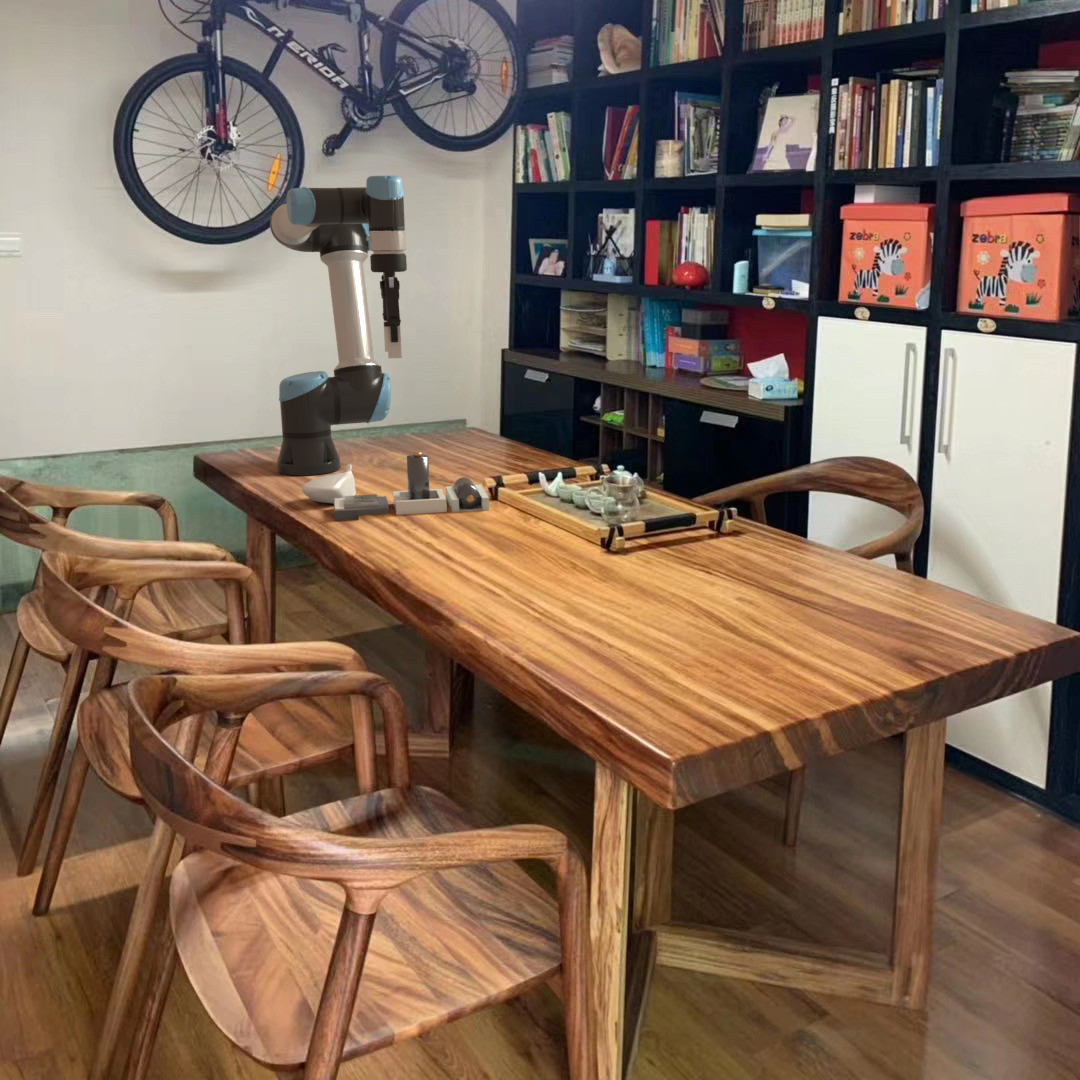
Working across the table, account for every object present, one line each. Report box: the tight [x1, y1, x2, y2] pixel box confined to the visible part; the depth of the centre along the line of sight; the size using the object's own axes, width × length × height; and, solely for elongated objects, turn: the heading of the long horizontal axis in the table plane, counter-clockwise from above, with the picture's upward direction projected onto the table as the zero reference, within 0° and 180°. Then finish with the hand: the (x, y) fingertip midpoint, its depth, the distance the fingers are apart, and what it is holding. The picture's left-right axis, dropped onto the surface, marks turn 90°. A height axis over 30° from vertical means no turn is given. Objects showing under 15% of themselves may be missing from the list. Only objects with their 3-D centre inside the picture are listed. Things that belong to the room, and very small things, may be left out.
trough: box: [445, 484, 490, 513], centre depth 251 cm, size 13×8×3 cm, turn 10°
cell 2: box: [453, 477, 481, 509], centre depth 251 cm, size 12×4×4 cm, turn 10°
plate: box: [343, 493, 378, 508], centre depth 248 cm, size 7×7×1 cm
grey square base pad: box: [333, 495, 390, 522], centre depth 249 cm, size 11×11×2 cm
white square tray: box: [392, 488, 448, 516], centre depth 249 cm, size 10×10×4 cm
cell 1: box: [406, 451, 431, 500], centre depth 247 cm, size 4×4×12 cm
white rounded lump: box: [300, 463, 357, 504], centre depth 260 cm, size 10×11×12 cm
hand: (393, 354), depth 257 cm, fingers open, 13 cm apart
